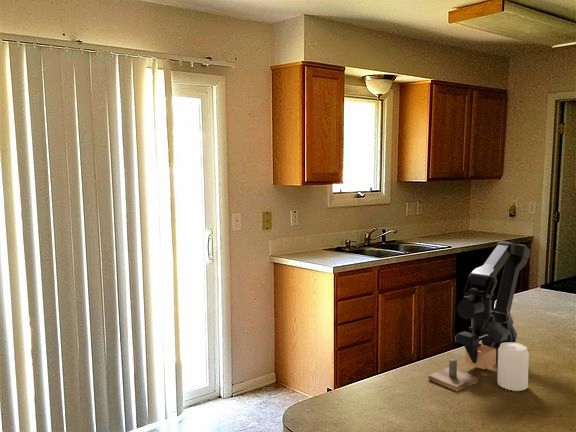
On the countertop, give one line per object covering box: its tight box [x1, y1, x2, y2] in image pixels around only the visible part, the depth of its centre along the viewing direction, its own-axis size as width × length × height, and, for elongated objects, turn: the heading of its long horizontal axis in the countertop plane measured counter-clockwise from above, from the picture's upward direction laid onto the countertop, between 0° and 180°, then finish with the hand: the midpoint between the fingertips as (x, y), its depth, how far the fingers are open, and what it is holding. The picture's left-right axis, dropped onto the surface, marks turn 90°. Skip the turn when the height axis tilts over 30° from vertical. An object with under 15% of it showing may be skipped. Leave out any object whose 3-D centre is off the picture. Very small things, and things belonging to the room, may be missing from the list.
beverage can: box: [497, 342, 530, 392], centre depth 149 cm, size 8×8×12 cm
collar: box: [465, 345, 497, 370], centre depth 162 cm, size 6×6×5 cm
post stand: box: [428, 358, 479, 391], centre depth 154 cm, size 10×10×6 cm
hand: (480, 360), depth 162 cm, fingers closed on collar, 6 cm apart
